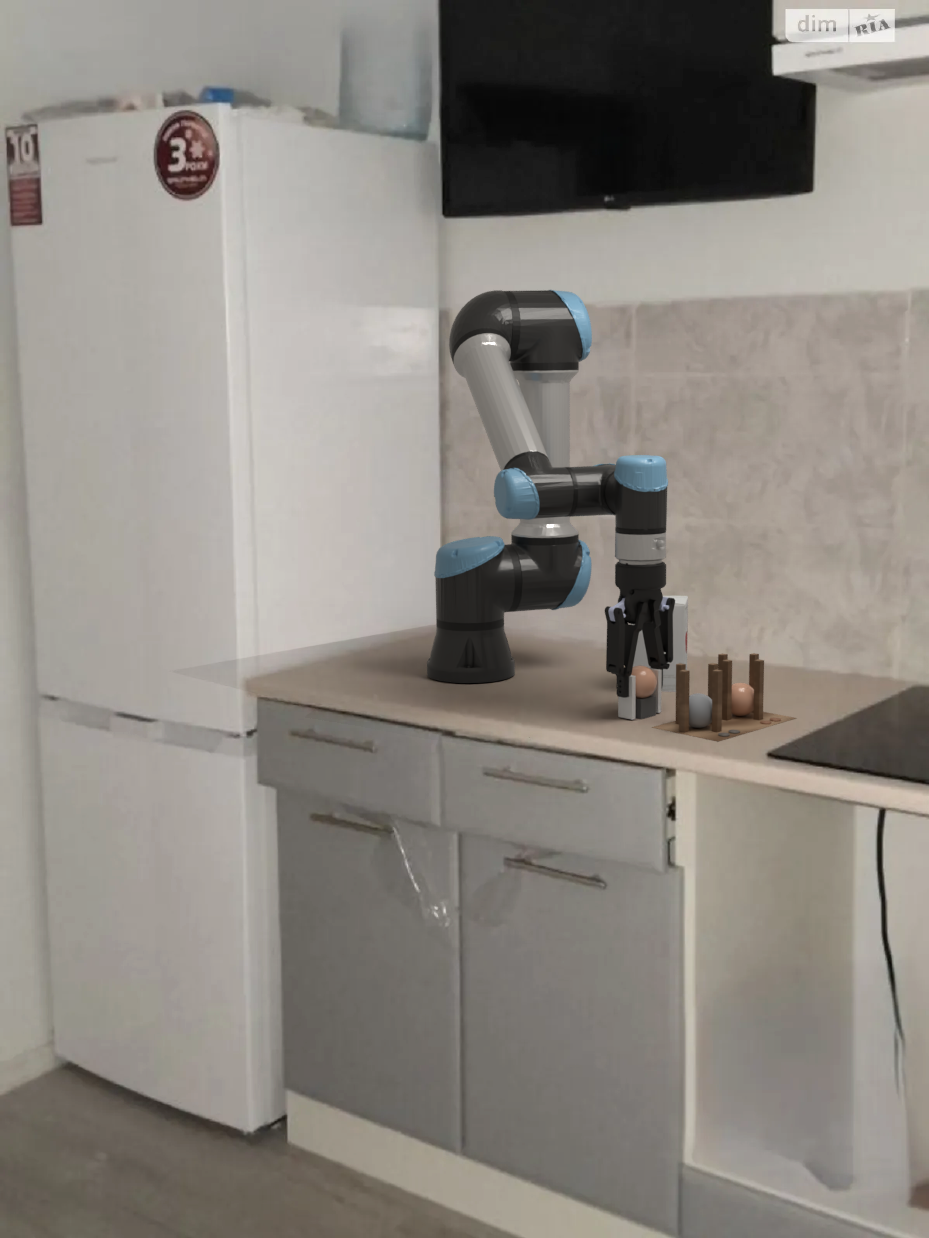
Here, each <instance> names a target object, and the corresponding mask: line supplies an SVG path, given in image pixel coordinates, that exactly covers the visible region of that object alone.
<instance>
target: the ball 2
mask: <svg viewBox="0 0 929 1238" xmlns="http://www.w3.org/2000/svg"><path fill="white" fill-rule="evenodd" d="M753 710H754V689H753V688H752V687H751V686H750V685H749V683H744V682H736V683H732V707H731V714H733V715H736V716H745V715H748V714H750V713H751V712H752V711H753Z"/></svg>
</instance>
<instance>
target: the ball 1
mask: <svg viewBox="0 0 929 1238" xmlns="http://www.w3.org/2000/svg"><path fill="white" fill-rule="evenodd" d="M711 722H712V699H711V698H710V697H708V694H707V695H706V694H705V693H701V692H698V693H697V692H696V693H693V694H689V725H690V726H692V727H695V728H703V727H706V726H708V725H709V724H710V723H711Z"/></svg>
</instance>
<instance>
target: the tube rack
mask: <svg viewBox="0 0 929 1238" xmlns="http://www.w3.org/2000/svg"><path fill="white" fill-rule="evenodd" d="M748 656H749V660H748V661H749V663H748V664H749V665H748V666H749V668H748V670H749V671H748V685H750V686H751V687H752V688H753V689H754V710H753V711H752V712H751V713H750V714H748V715H745V716H736V715H733V714H731V707H732V684H733V660H732V659H729V657H728V653H718V655H717V659H718V660H717V663H716V662H715V663H714V662H711V663H708V665H707V667H708V668H707V696H708V697H710V698H711V699H712V722H711V723H710V724H709V725H708V726H706V727H703V728H695V727H692V726H690V725H689V696H690V678H691V677H690V670H688V669H687V670H686V664H682V663H679V664H676V692H675V720H673V721H670V722H665V723H662V724H659V725H655V726H652V727H651V728H653V729H656V730H661V731H666V732H670V733H676V734H679V735H680V734H681V735H685V736H690V737H693V738H699V739H704V740H708V741H714V742H717V743H718V742H722V741H726V740H729V739H732V738H736V737H739V736H742V735H747V734H748V733H749V734H750V733H753V732H756V731H759V730H762V729H766V728H769V727H772V726H776V725H779V724H782V723H786V722H789V721H793V720H796V719H798V718H797V717H792V716H787V715H784V714H783V715H782V714H777V713H772V712H767V711H764V691H765V690H764V688H765V687H764V685H765V683H764V681H765V673H764V672H765V659H760V654H759V653H755V652H753V653H749V655H748Z"/></svg>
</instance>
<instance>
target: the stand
mask: <svg viewBox="0 0 929 1238" xmlns="http://www.w3.org/2000/svg"><path fill="white" fill-rule="evenodd" d="M656 716H657V713H656V696H652V695H650V696H649V697H647V698H643V699H638V698H636V702H635V719H637V720H644V719H648V718H652V717H656Z"/></svg>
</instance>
